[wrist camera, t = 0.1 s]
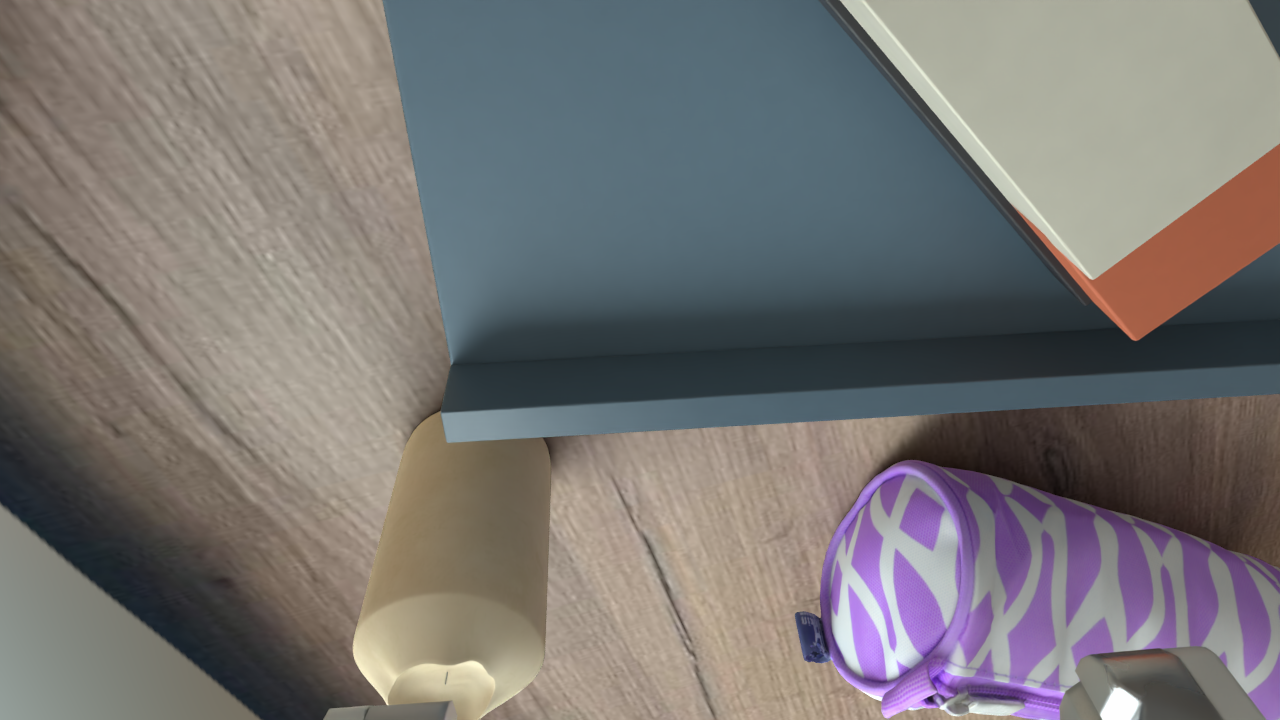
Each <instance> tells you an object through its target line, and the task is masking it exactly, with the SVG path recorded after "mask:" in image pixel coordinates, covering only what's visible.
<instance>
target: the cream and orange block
mask: <svg viewBox="0 0 1280 720" xmlns="http://www.w3.org/2000/svg"><path fill="white" fill-rule="evenodd" d="M819 2H820V3H821V4H822V5H823V6H824V7H825V9H826V10H827V11H828V12H829V13H830V14H831V16H832V17H833V18H834V19H835V20H836V21H837V23H838V24H839V25H840V26H841V27H842V29H843V30H844V31H845V32H846V33H847V34H848V36H849V37H850V38H851V39H852V40H853V41H854V43H855V44H856V45H857V46H858V47H859V48H860V50H861V51H862V52H863V53H864V54H865V55H866V57H867V58H868V59H869V60H870V61H871V62H872V64H873V65H874V66H875V67H876V68H877V69H878V71H879V72H880V73H881V74H882V75H883V76H884V78H885V79H886V80H887V81H888V82H889V83H890V85H891V86H892V87H893V88H894V89H895V91H896V92H897V93H898V94H899V95H900V96H901V98H902V99H903V100H904V101H905V102H906V103H907V105H908V106H909V107H910V108H911V109H912V110H913V112H914V113H915V114H916V115H917V116H918V117H919V119H920V120H921V121H922V122H923V123H924V124H925V126H926V127H927V128H928V129H929V130H930V131H931V133H932V134H933V135H934V136H935V137H936V138H937V140H938V141H939V142H940V143H941V144H942V145H943V147H944V148H945V149H946V150H947V151H948V152H949V154H950V155H951V156H952V157H953V158H954V160H955V161H956V162H957V163H958V164H959V165H960V167H961V168H962V169H963V170H964V171H965V172H966V174H967V175H968V176H969V177H970V178H971V179H972V181H973V182H974V183H975V184H976V185H977V186H978V188H979V189H980V190H981V191H982V192H983V193H984V195H985V196H986V197H987V198H988V199H989V200H990V202H991V203H992V204H993V205H994V206H995V207H996V209H997V210H998V211H999V212H1000V213H1001V214H1002V216H1003V217H1004V218H1005V219H1006V220H1007V222H1008V223H1009V224H1010V225H1011V226H1012V227H1013V229H1014V230H1015V231H1016V232H1017V233H1018V234H1019V236H1020V237H1021V238H1022V239H1023V240H1024V241H1025V243H1026V244H1027V245H1028V246H1029V247H1030V248H1031V250H1032V251H1033V252H1034V253H1035V254H1036V255H1037V257H1038V258H1039V259H1040V260H1041V261H1042V262H1043V264H1044V265H1045V266H1046V267H1047V268H1048V269H1049V271H1050V272H1051V273H1052V274H1053V275H1054V276H1055V278H1056V279H1057V280H1058V281H1059V282H1060V283H1061V284H1062V285H1063V286H1064V287H1065V288H1066V289H1067V290H1068V291H1069V292H1070V293H1071V294H1072V295H1074V296H1075V297H1076V298H1077V299H1078V300H1079V301H1080V302H1081V303H1082V304H1083V305H1084V306H1087V305H1089V304H1090V303H1092V302H1094V303H1095V304H1096V305H1097V306H1098V307H1099V308H1100V309H1101V310H1102V311H1103V312H1104V313H1105V314H1106V315H1107V316H1108V317H1109V318H1110V319H1111V320H1112V321H1113V322H1114V323H1115V324H1116V325H1117V326H1118V327H1120V328H1121V329H1122V330H1123V331H1124V332H1125V333H1126V334H1127V335H1128V336H1129V337H1130V338H1131V339H1132V340H1135V341H1137V340H1139V339H1141V338H1142V337H1144V336H1145V335H1147V334H1148V333H1150V332H1151V331H1152V330H1154V329H1155V328H1157V327H1158V326H1160V325H1161V324H1163V323H1164V322H1166V321H1167V320H1168V319H1170V318H1171V317H1173V316H1174V315H1176V314H1177V313H1179V312H1180V311H1182V310H1183V309H1184V308H1186V307H1187V306H1189V305H1190V304H1192V303H1193V302H1195V301H1196V300H1198V299H1199V298H1201V297H1202V296H1203V295H1205V294H1206V293H1208V292H1209V291H1211V290H1212V289H1214V288H1215V287H1217V286H1218V285H1219V284H1221V283H1222V282H1224V281H1225V280H1227V279H1228V278H1230V277H1231V276H1233V275H1234V274H1235V273H1237V272H1238V271H1240V270H1241V269H1243V268H1244V267H1246V266H1247V265H1249V264H1250V263H1251V262H1253V261H1254V260H1256V259H1257V258H1259V257H1260V256H1262V255H1263V254H1265V253H1266V252H1267V251H1269V250H1270V249H1272V248H1273V247H1275V246H1276V245H1278V244H1279V243H1280V57H1279V55H1278V53H1277V52H1276V50H1275V48H1274V46H1273V44H1272V42H1271V41H1270V39H1269V37H1268V35H1267V33H1266V31H1265V30H1264V28H1263V26H1262V24H1261V22H1260V20H1259V19H1258V17H1257V15H1256V13H1255V11H1254V9H1253V8H1252V6H1251V4H1250V2H1249V0H819Z"/></svg>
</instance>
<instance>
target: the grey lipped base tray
mask: <svg viewBox="0 0 1280 720" xmlns="http://www.w3.org/2000/svg"><path fill="white" fill-rule="evenodd" d="M1249 2H1250V4H1251V6H1252V8H1253V9H1254V11H1255V13H1256V15H1257V17H1258V19H1259V20H1260V22H1261V24H1262V26H1263V28H1264V30H1265V31H1266V33H1267V35H1268V37H1269V39H1270V41H1271V42H1272V44H1273V46H1274V48H1275V50H1276V52H1277V53H1278V55H1279V57H1280V0H1249ZM383 5H384V11H385V16H386V21H387V27H388V32H389V37H390V43H391V48H392V53H393V59H394V64H395V69H396V75H397V80H398V85H399V90H400V96H401V101H402V106H403V112H404V117H405V122H406V128H407V133H408V138H409V144H410V149H411V154H412V160H413V165H414V170H415V176H416V181H417V186H418V191H419V197H420V202H421V207H422V213H423V218H424V223H425V229H426V234H427V239H428V245H429V250H430V255H431V261H432V266H433V271H434V276H435V282H436V287H437V292H438V298H439V303H440V308H441V314H442V319H443V324H444V330H445V335H446V340H447V346H448V351H449V356H450V361H451V366H450V371H449V375H448V380H447V384H446V389H445V393H444V398H443V402H442V407H441V411H440V414H441V418H442V423H443V428H444V433H445V438H446V442H447V443H456V442H473V441H490V440H507V439H523V438H540V437H557V436H574V435H591V434H608V433H625V432H642V431H659V430H676V429H693V428H710V427H727V426H744V425H761V424H778V423H795V422H812V421H829V420H846V419H863V418H880V417H896V416H913V415H930V414H947V413H964V412H981V411H998V410H1015V409H1032V408H1049V407H1066V406H1083V405H1100V404H1117V403H1134V402H1151V401H1168V400H1185V399H1202V398H1219V397H1236V396H1253V395H1270V394H1280V243H1279V244H1278V245H1276V246H1275V247H1273V248H1272V249H1270V250H1269V251H1267V252H1266V253H1265V254H1263V255H1262V256H1260V257H1259V258H1257V259H1256V260H1254V261H1253V262H1251V263H1250V264H1249V265H1247V266H1246V267H1244V268H1243V269H1241V270H1240V271H1238V272H1237V273H1235V274H1234V275H1233V276H1231V277H1230V278H1228V279H1227V280H1225V281H1224V282H1222V283H1221V284H1219V285H1218V286H1217V287H1215V288H1214V289H1212V290H1211V291H1209V292H1208V293H1206V294H1205V295H1203V296H1202V297H1201V298H1199V299H1198V300H1196V301H1195V302H1193V303H1192V304H1190V305H1189V306H1187V307H1186V308H1184V309H1183V310H1182V311H1180V312H1179V313H1177V314H1176V315H1174V316H1173V317H1171V318H1170V319H1168V320H1167V321H1166V322H1164V323H1163V324H1161V325H1160V326H1158V327H1157V328H1155V329H1154V330H1152V331H1151V332H1150V333H1148V334H1147V335H1145V336H1144V337H1142V338H1141V339H1139V340H1137V341H1135V340H1132V339H1131V338H1130V337H1129V336H1128V335H1127V334H1126V333H1125V332H1124V331H1123V330H1122V329H1121V328H1120V327H1118V326H1117V325H1116V324H1115V323H1114V322H1113V321H1112V320H1111V319H1110V318H1109V317H1108V316H1107V315H1106V314H1105V313H1104V312H1103V311H1102V310H1101V309H1100V308H1099V307H1098V306H1097V305H1096V304H1095V303H1094V302H1092V303H1090V304H1089V305H1087V306H1084V305H1083V304H1082V303H1081V302H1080V301H1079V300H1078V299H1077V298H1076V297H1075V296H1074V295H1072V294H1071V293H1070V292H1069V291H1068V290H1067V289H1066V288H1065V287H1064V286H1063V285H1062V284H1061V283H1060V282H1059V281H1058V280H1057V279H1056V278H1055V276H1054V275H1053V274H1052V273H1051V272H1050V271H1049V269H1048V268H1047V267H1046V266H1045V265H1044V264H1043V262H1042V261H1041V260H1040V259H1039V258H1038V257H1037V255H1036V254H1035V253H1034V252H1033V251H1032V250H1031V248H1030V247H1029V246H1028V245H1027V244H1026V243H1025V241H1024V240H1023V239H1022V238H1021V237H1020V236H1019V234H1018V233H1017V232H1016V231H1015V230H1014V229H1013V227H1012V226H1011V225H1010V224H1009V223H1008V222H1007V220H1006V219H1005V218H1004V217H1003V216H1002V214H1001V213H1000V212H999V211H998V210H997V209H996V207H995V206H994V205H993V204H992V203H991V202H990V200H989V199H988V198H987V197H986V196H985V195H984V193H983V192H982V191H981V190H980V189H979V188H978V186H977V185H976V184H975V183H974V182H973V181H972V179H971V178H970V177H969V176H968V175H967V174H966V172H965V171H964V170H963V169H962V168H961V167H960V165H959V164H958V163H957V162H956V161H955V160H954V158H953V157H952V156H951V155H950V154H949V152H948V151H947V150H946V149H945V148H944V147H943V145H942V144H941V143H940V142H939V141H938V140H937V138H936V137H935V136H934V135H933V134H932V133H931V131H930V130H929V129H928V128H927V127H926V126H925V124H924V123H923V122H922V121H921V120H920V119H919V117H918V116H917V115H916V114H915V113H914V112H913V110H912V109H911V108H910V107H909V106H908V105H907V103H906V102H905V101H904V100H903V99H902V98H901V96H900V95H899V94H898V93H897V92H896V91H895V89H894V88H893V87H892V86H891V85H890V83H889V82H888V81H887V80H886V79H885V78H884V76H883V75H882V74H881V73H880V72H879V71H878V69H877V68H876V67H875V66H874V65H873V64H872V62H871V61H870V60H869V59H868V58H867V57H866V55H865V54H864V53H863V52H862V51H861V50H860V48H859V47H858V46H857V45H856V44H855V43H854V41H853V40H852V39H851V38H850V37H849V36H848V34H847V33H846V32H845V31H844V30H843V29H842V27H841V26H840V25H839V24H838V23H837V21H836V20H835V19H834V18H833V17H832V16H831V14H830V13H829V12H828V11H827V10H826V9H825V7H824V6H823V5H822V4H821V3H820V2H819V0H383Z"/></svg>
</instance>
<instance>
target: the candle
mask: <svg viewBox="0 0 1280 720" xmlns="http://www.w3.org/2000/svg"><path fill="white" fill-rule="evenodd" d="M550 496H551V461H550V456H549V452H548V448H547V446H546V443H545V441H544V439H543V438H542V437H540V438H523V439H507V440H490V441H473V442H456V443H447V442H446V438H445V433H444V428H443V423H442V418H441V414H440V412H437V413H435V414H433V415H431V416H430V417H428V418H427V419H426V420H424V421H423V422H422V423H421V424H420V425H419V426H418V427H417V428H416V429H415V430H414V431H413V433H412V435H411V437H410V438H409V440H408V442H407V444H406V446H405V449H404V452H403V455H402V459H401V462H400V466H399V469H398V473H397V477H396V481H395V485H394V488H393V492H392V496H391V500H390V503H389V507H388V511H387V515H386V519H385V522H384V526H383V530H382V534H381V538H380V541H379V545H378V549H377V553H376V556H375V560H374V564H373V568H372V572H371V575H370V579H369V583H368V587H367V590H366V594H365V598H364V602H363V606H362V609H361V613H360V617H359V621H358V625H357V628H356V632H355V636H354V641H353V654H354V658H355V661H356V663H357V665H358V668H359V669H360V671H361V672H362V673H363V675H364V676H365V677H366V678H367V680H368V681H369V682H370V683H371V684H372V685H373V686H374V688H375V689H376V690H377V691H378V692H379V694H380V695H381V696H382V697H383V699H384V700H385V702H386V704H387V705H397V704H412V703H426V702H440V701H453V704H454V707H455V710H456V713H457V720H479V719H480V718H482V717H483V716H484V715H486V714H487V713H488V712H490V711H491V710H493V709H494V708H496V707H498V706H499V705H501V704H503V703H504V702H506V701H507V700H509V699H510V698H511V697H513V696H514V695H516V694H517V693H519V692H520V691H521V690H522V689H524V688H525V687H526V686H527V685H528V684H530V683H531V682H532V681H533V679H534V678H535V677H536V676H537V674H538V673H539V671H540V669H541V667H542V665H543V662H544V656H545V638H546V610H547V581H548V553H549V524H550Z"/></svg>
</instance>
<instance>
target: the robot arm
mask: <svg viewBox="0 0 1280 720" xmlns="http://www.w3.org/2000/svg"><path fill="white" fill-rule="evenodd" d="M1075 672H1076V674H1077V676H1078V677H1079V679H1080V681H1079V682H1078V683H1077V684H1075V685H1074V686H1072V687H1071V688H1069V689H1068V690H1067V691H1065V693H1064V696H1063V699H1062V701H1061V704H1060V707H1059V711H1060V720H1266V718H1265V717H1264V716H1263V714H1262V713H1261V712H1260V710H1259V709H1258V708H1257V706H1256V705H1255V704H1254V703H1253V701H1252V700H1251V699H1250V697H1249V696H1248V695H1247V693H1246V692H1245V691H1244V689H1243V688H1242V687H1241V685H1240V684H1239V683H1238V682H1237V680H1236V679H1235V678H1234V676H1233V675H1232V674H1231V672H1230V671H1229V670H1228V668H1227V667H1226V666H1225V664H1224V663H1223V662H1222V661H1221V659H1220V658H1219V657H1218V656H1217V655H1216V654H1215V653H1214V652H1212V651H1211V650H1209V649H1208V648H1207V647H1200V646H1189V647H1177V648H1165V649H1161V648H1155V649H1144V650H1133V651H1122V652H1111V653H1100V654H1090V655H1088V656H1085V657H1083V658H1081V659H1080V661H1079V663H1078V665H1077V667H1076V669H1075ZM323 720H457V713H456V710H455V707H454V704H453V701H440V702H426V703H412V704H397V705H383V706H372V705H370V706H358V707H346V708H334V709H329V710H328V712H327V714H326V716H325V718H324V719H323Z"/></svg>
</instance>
